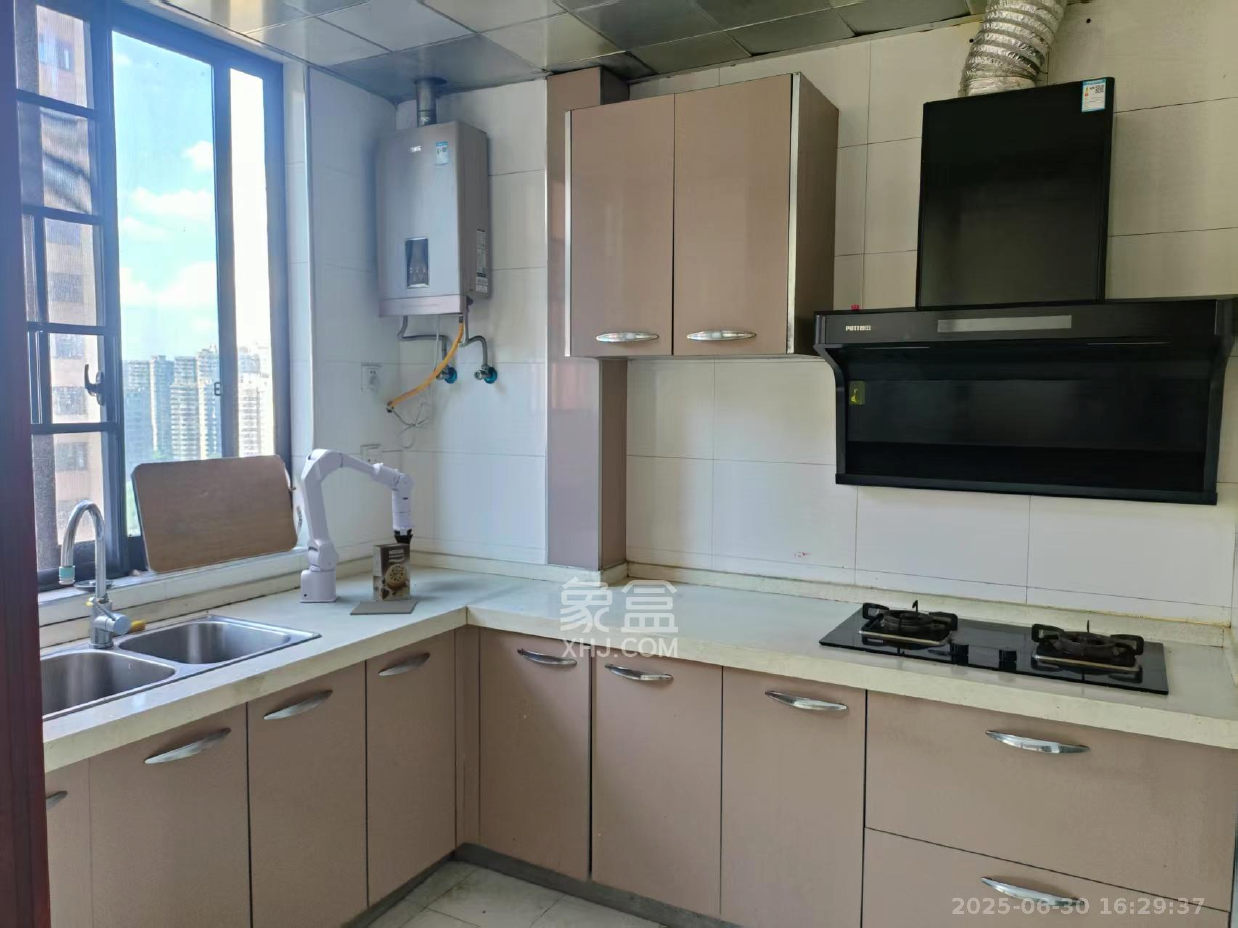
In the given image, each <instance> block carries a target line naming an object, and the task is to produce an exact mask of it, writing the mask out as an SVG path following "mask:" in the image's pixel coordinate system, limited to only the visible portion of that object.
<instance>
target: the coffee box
mask: <svg viewBox="0 0 1238 928" xmlns="http://www.w3.org/2000/svg"><path fill="white" fill-rule="evenodd" d="M372 564H373V565H372V569H373V570H372V575H373V577H372V581H373V582H372V586H373V587H372V591H373V593H372V597H373V598H372V599H373V600H374V601H404V600H408V599H411V544H410V545H409V544H404V543H397V542H396V543H385V544H376V545H375V544H374V545H373V546H372Z"/></svg>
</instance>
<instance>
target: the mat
mask: <svg viewBox="0 0 1238 928" xmlns="http://www.w3.org/2000/svg"><path fill="white" fill-rule="evenodd" d="M417 604H418V600H396V601H377V600H374V601H372V600H371V601H368V600H367V601H360V602H359V603H358V604H357V605H356V606H355V607H354V608H353V610H352V611H350V613H349V615H350V616H353V615H354V616H359V615H362V616H363V615H365V616H368V615H409V614H410V615H411V614H412V611H413V610H414V608H415V606H416V605H417Z"/></svg>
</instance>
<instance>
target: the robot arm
mask: <svg viewBox="0 0 1238 928" xmlns="http://www.w3.org/2000/svg"><path fill="white" fill-rule="evenodd" d="M340 468H341V469H343V468H349V469H351V470H354V471H357V472H359V473H361V474H365V475H367V476H368V479H369V480H370V481H371V482H374V483H376V484H378V485H382V486H384V487H386V488H388V489H389V490H390V491H391V506H392V507H391V508H392V529H393V533H394V534H393V537H394V539H395V540H396V541H395V542H396V543H404V544H409V545H410V546H411V542H412V538H413V536H414V534H413V533H412V531H413V529H414V528H416V527H417V524H416V523H413V513H412V498H411V497H412V496H411V495H412V489H413V488H414V485H415V484H414V483H415V482H414V481H413V478H412V477H411V475H409V474H407V473H404V472H403V473H401V472H400V470H399V469H397V468H395V469H393V468H391V467H388V466H387V463H385V462H380V463H378V462H377V463H374V464H370V463H368V462H367V461H364V460H362V459H360V458H357V457H355V456H353V455H351V454H349V453H346V452H343V451H338V450H335V449H324V448H315V449H314V450H312V451H311V452H310V453H309V454H308V455H307V456H306V457H305V465H304V468H303V470H302V473H301V475H300V485H301V491H302V497H303V503H304V509H305V515H306V523H307V529H308V536H309V539H308V541H307V543H306V545H307V549H306V552H305V560H306V561H307V563H308V564H309V568H308V569H303V570H302V572H301V574H300V603H317V602H318V603H321V602H322V603H323V602H324V603H326V602H327V603H328V602H329V603H331V602H335V601H336V600H337V599H338V598H339V597H340V596H341V594H339V593H337V585H336V584H337V583H336V581H337V579H336V578H337V577H336V566H337V565H338V563H339V562H340V561H339V560H340V557H339V553H338V552H337V550H336V548H335V545H334V542H333V540H332V539H331V537H330V535H329V534H330V533H329V528H328V527H329V526H328V521H327V515H326V509H325V503H324V497H323V491H322V483H323V481H324V480H325V479H326V478H327V477H328V476H329V475H331V474H332V473H334V472H335V471H337V470H339V469H340ZM412 528H413V529H412Z"/></svg>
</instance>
